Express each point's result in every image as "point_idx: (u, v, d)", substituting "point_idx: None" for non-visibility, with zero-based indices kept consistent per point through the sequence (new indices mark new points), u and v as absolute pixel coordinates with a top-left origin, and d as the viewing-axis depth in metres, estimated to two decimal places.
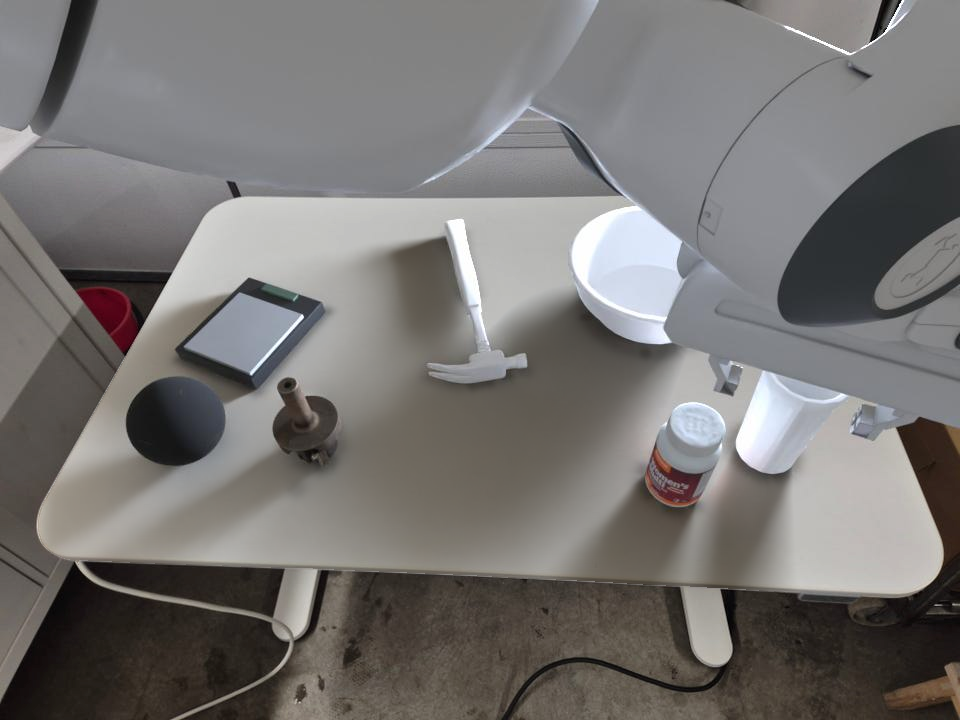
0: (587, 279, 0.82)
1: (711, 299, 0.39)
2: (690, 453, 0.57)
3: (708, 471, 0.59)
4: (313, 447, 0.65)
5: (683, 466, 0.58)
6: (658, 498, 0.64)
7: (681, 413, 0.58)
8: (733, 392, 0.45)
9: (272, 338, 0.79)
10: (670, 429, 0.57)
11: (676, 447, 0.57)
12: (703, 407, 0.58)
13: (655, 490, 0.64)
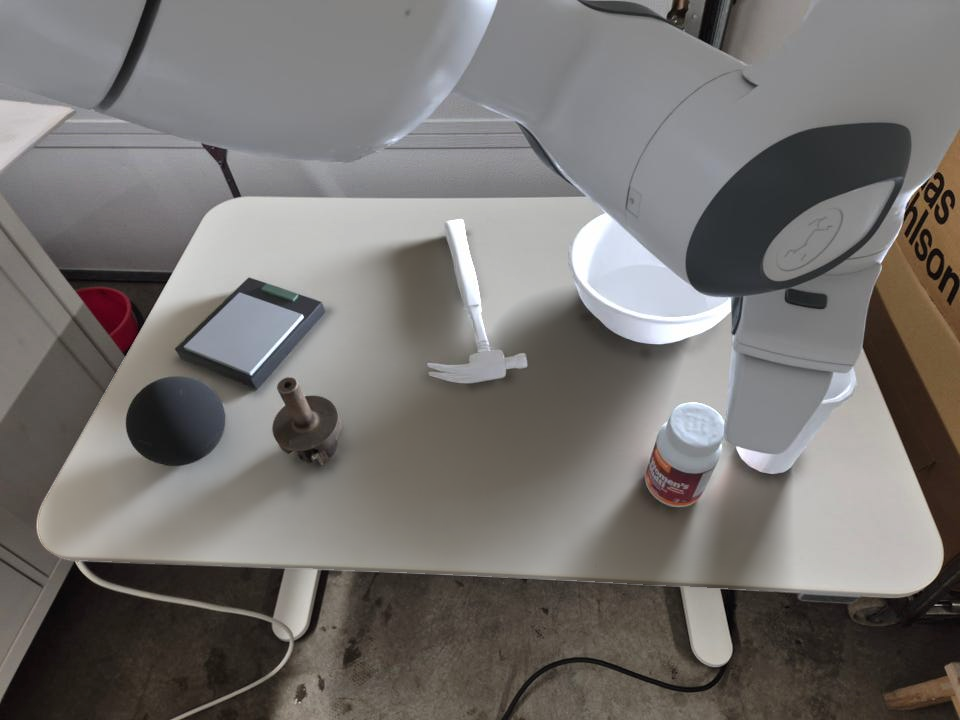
0: (587, 279, 0.82)
1: None
2: (690, 453, 0.57)
3: (708, 471, 0.59)
4: (313, 447, 0.65)
5: (683, 465, 0.58)
6: (658, 498, 0.64)
7: (682, 413, 0.58)
8: None
9: (272, 338, 0.79)
10: (670, 429, 0.57)
11: (676, 447, 0.57)
12: (703, 407, 0.58)
13: (655, 490, 0.64)
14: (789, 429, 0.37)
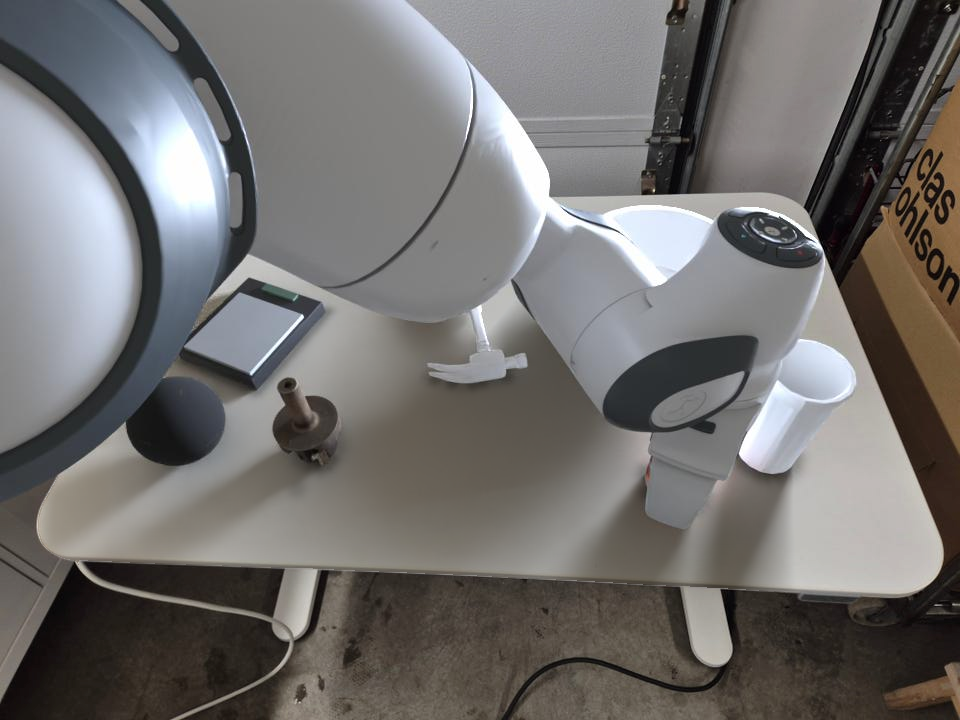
0: None
1: None
2: None
3: None
4: (313, 447, 0.65)
5: None
6: None
7: None
8: None
9: (272, 338, 0.79)
10: None
11: None
12: None
13: None
14: (687, 513, 0.50)
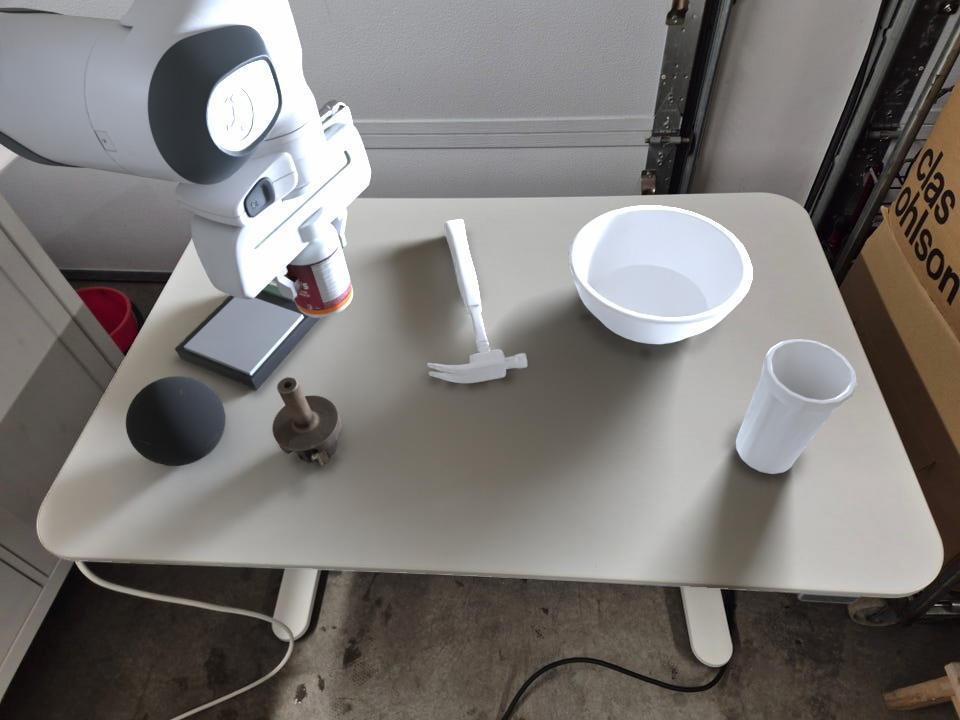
0: (587, 279, 0.82)
1: None
2: None
3: (316, 264, 0.58)
4: (313, 447, 0.65)
5: None
6: (299, 309, 0.63)
7: None
8: None
9: (272, 338, 0.79)
10: None
11: None
12: None
13: (294, 299, 0.63)
14: (230, 273, 0.50)
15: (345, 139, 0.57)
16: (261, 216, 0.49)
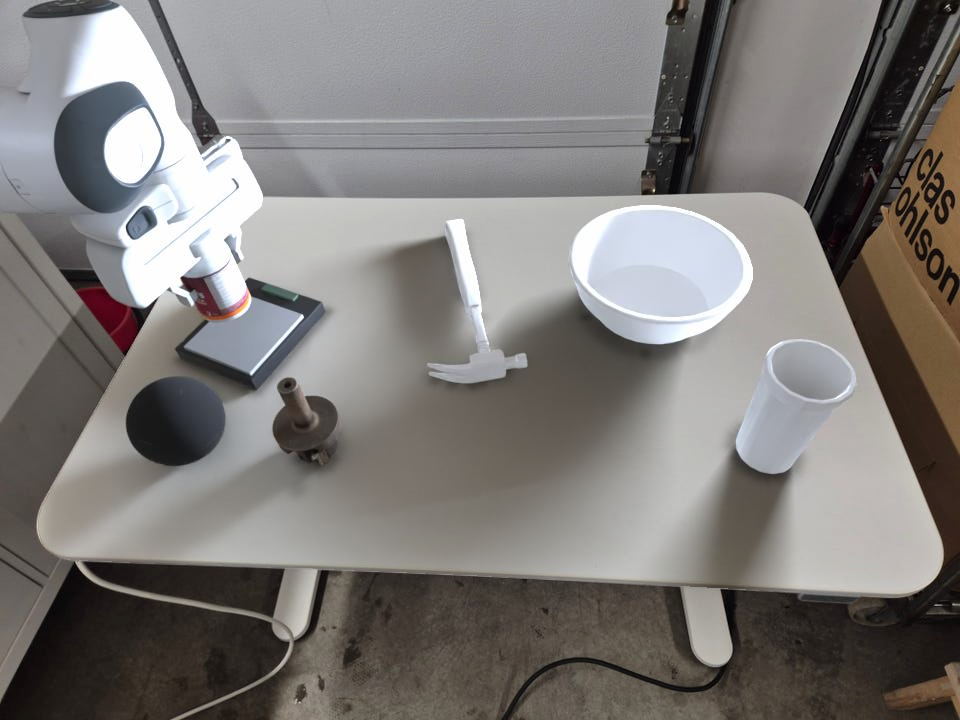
0: (587, 279, 0.82)
1: None
2: None
3: (208, 276, 0.67)
4: (313, 447, 0.65)
5: None
6: (201, 315, 0.72)
7: None
8: None
9: (272, 338, 0.79)
10: None
11: None
12: None
13: None
14: (121, 286, 0.59)
15: (231, 168, 0.66)
16: (145, 238, 0.58)
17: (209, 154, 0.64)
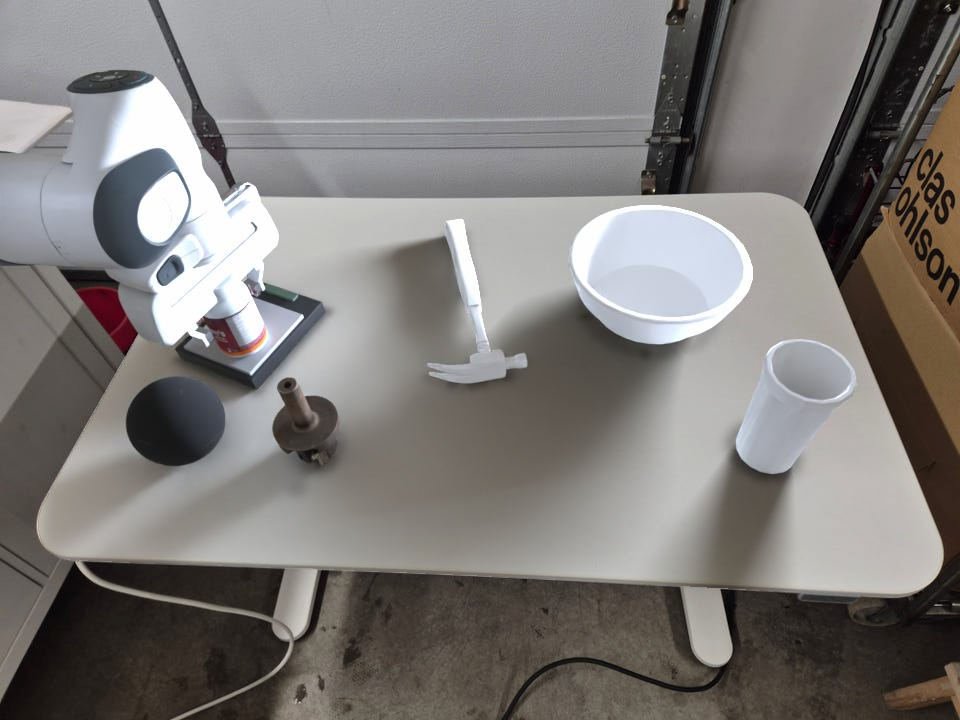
0: (587, 279, 0.82)
1: None
2: None
3: (229, 317, 0.72)
4: (313, 447, 0.65)
5: None
6: (222, 351, 0.77)
7: None
8: None
9: (272, 338, 0.79)
10: None
11: None
12: None
13: (217, 343, 0.77)
14: (150, 327, 0.63)
15: (250, 213, 0.70)
16: (173, 283, 0.63)
17: (230, 200, 0.69)
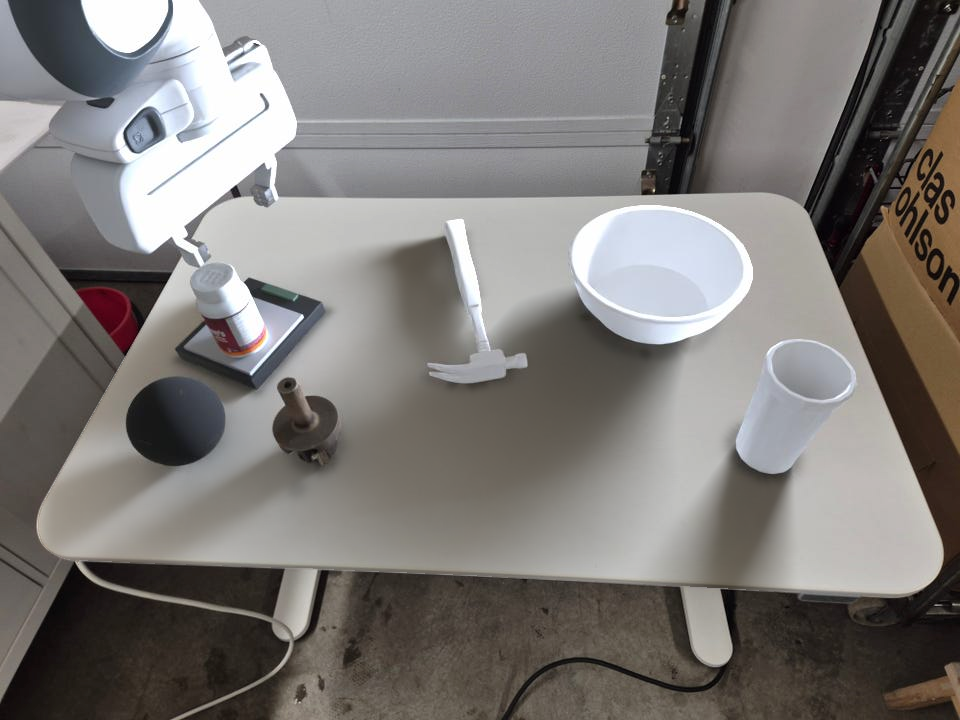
0: (587, 279, 0.82)
1: None
2: (202, 299, 0.70)
3: (229, 317, 0.72)
4: (313, 447, 0.65)
5: (205, 311, 0.71)
6: (222, 351, 0.77)
7: (205, 269, 0.71)
8: (254, 197, 0.58)
9: (272, 338, 0.79)
10: None
11: (195, 295, 0.71)
12: (225, 265, 0.72)
13: (217, 343, 0.77)
14: (118, 220, 0.44)
15: (259, 79, 0.51)
16: (150, 155, 0.43)
17: (232, 58, 0.50)
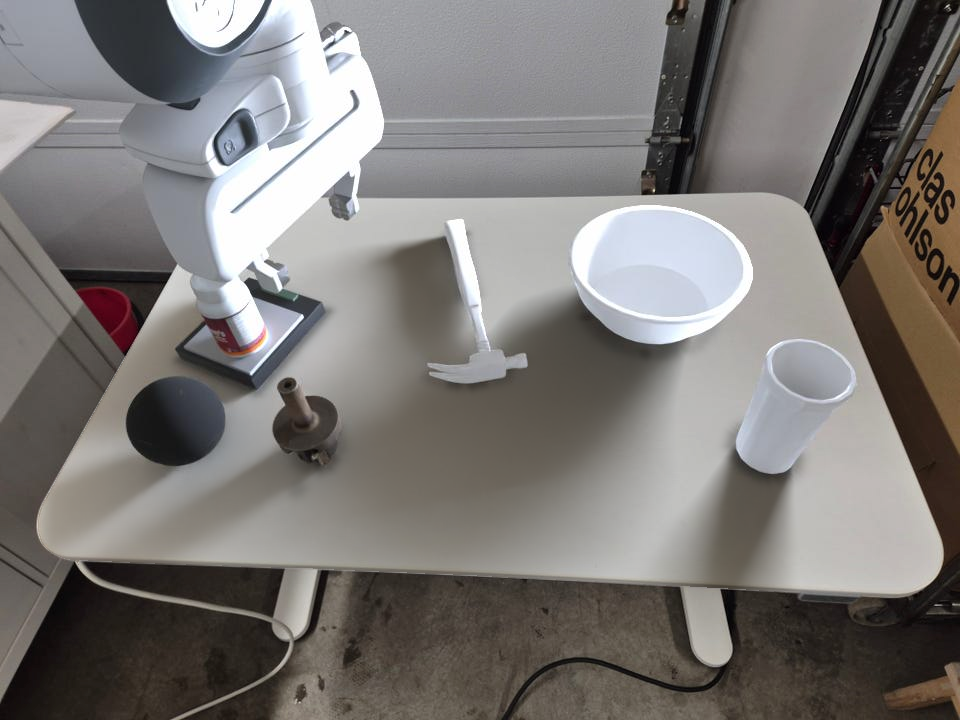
0: (587, 279, 0.82)
1: None
2: (202, 299, 0.70)
3: (229, 317, 0.72)
4: (313, 447, 0.65)
5: (205, 311, 0.71)
6: (222, 351, 0.77)
7: None
8: (332, 209, 0.51)
9: (272, 338, 0.79)
10: None
11: (195, 295, 0.71)
12: None
13: (217, 343, 0.77)
14: (198, 245, 0.37)
15: (352, 73, 0.44)
16: (240, 166, 0.36)
17: (323, 49, 0.42)
